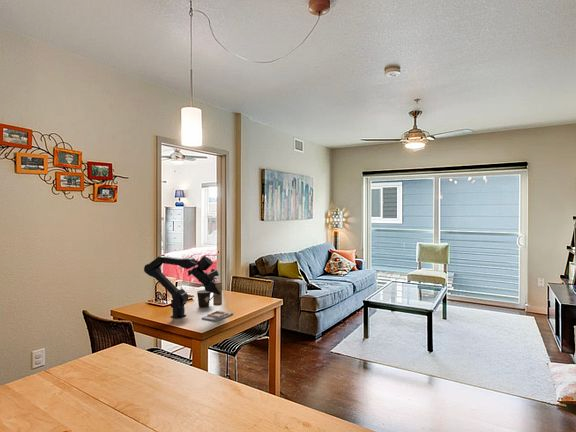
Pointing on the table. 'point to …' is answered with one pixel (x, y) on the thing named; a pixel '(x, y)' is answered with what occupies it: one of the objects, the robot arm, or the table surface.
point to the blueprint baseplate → (217, 316)
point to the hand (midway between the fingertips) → (220, 293)
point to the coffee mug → (203, 298)
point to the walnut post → (217, 298)
